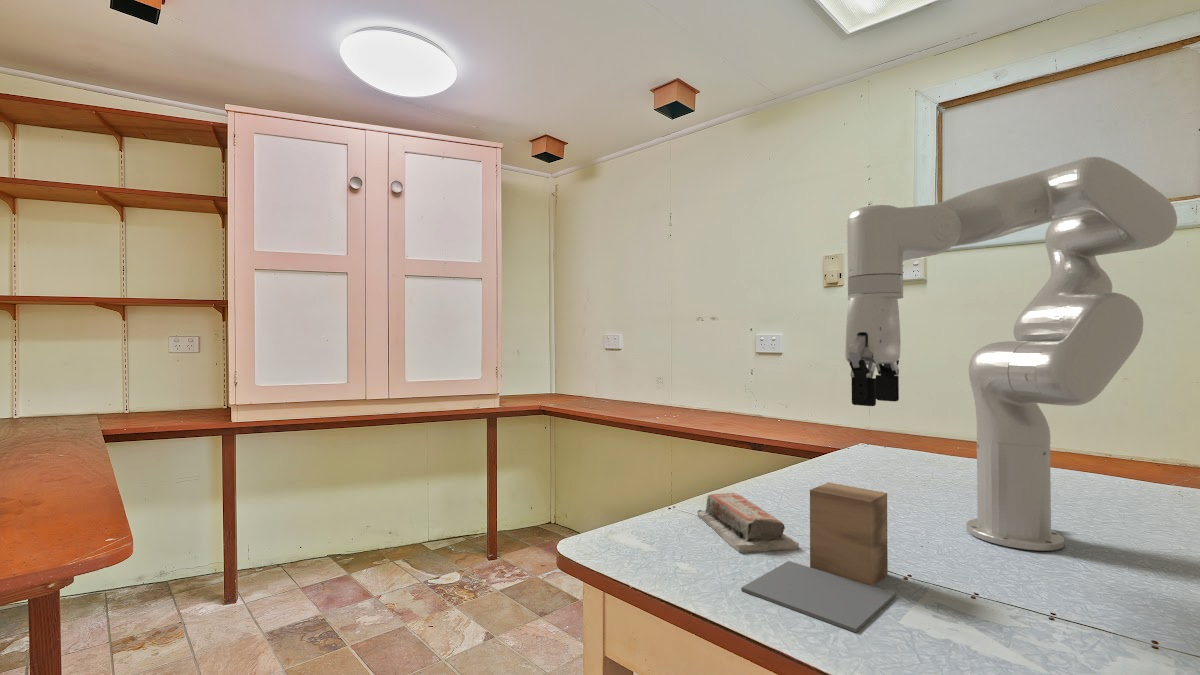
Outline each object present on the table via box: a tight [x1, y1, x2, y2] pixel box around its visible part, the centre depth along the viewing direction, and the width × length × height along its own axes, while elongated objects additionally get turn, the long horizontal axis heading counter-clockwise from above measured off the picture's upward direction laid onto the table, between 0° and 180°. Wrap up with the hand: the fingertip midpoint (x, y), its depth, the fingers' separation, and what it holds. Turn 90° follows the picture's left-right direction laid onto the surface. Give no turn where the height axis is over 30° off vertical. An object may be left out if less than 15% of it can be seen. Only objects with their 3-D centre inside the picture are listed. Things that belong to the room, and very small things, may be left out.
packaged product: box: [696, 492, 800, 553], centre depth 91 cm, size 18×5×10 cm
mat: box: [740, 560, 897, 633], centre depth 68 cm, size 12×14×1 cm
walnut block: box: [809, 482, 889, 587], centre depth 75 cm, size 6×8×11 cm
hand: (875, 402), depth 83 cm, fingers open, 9 cm apart
